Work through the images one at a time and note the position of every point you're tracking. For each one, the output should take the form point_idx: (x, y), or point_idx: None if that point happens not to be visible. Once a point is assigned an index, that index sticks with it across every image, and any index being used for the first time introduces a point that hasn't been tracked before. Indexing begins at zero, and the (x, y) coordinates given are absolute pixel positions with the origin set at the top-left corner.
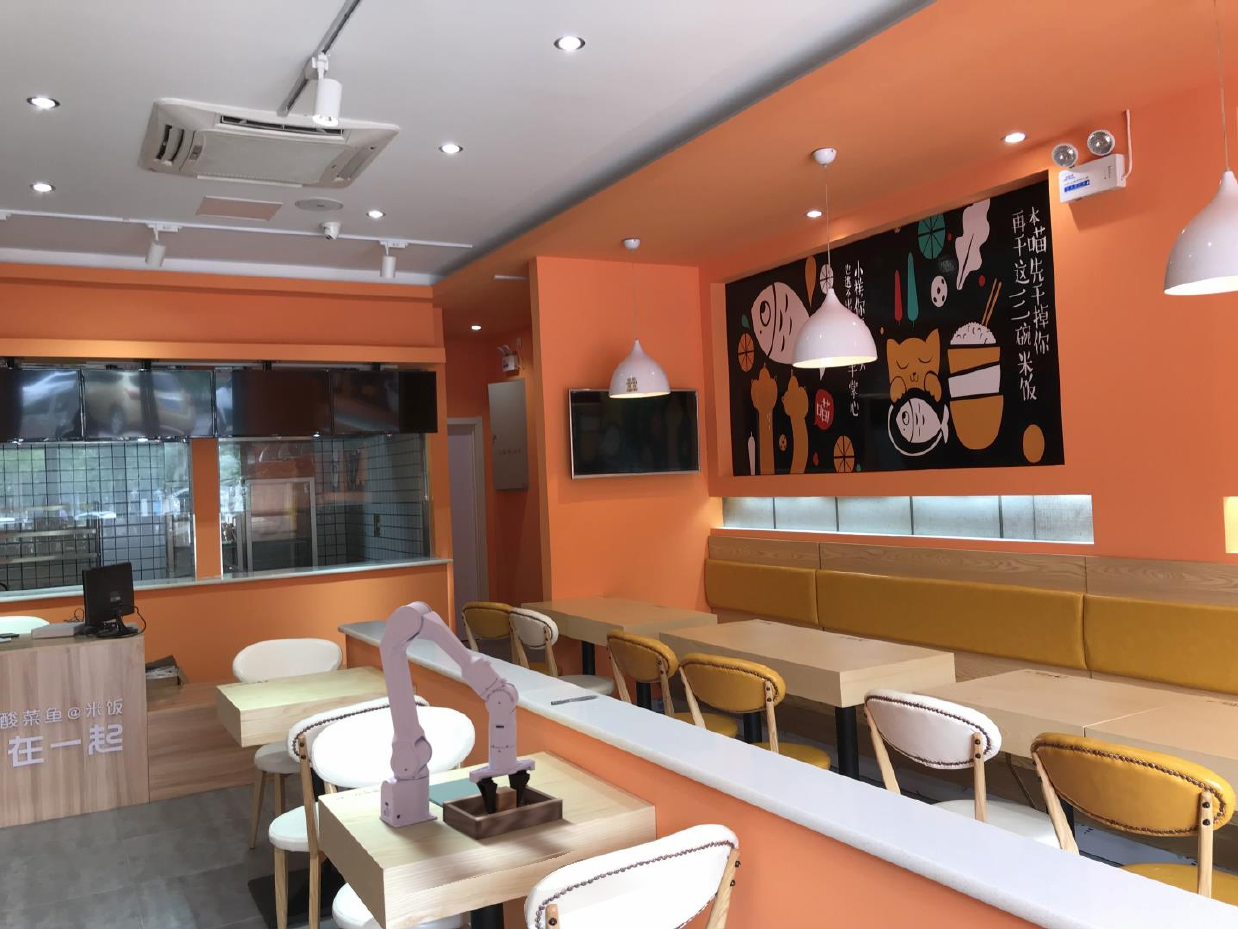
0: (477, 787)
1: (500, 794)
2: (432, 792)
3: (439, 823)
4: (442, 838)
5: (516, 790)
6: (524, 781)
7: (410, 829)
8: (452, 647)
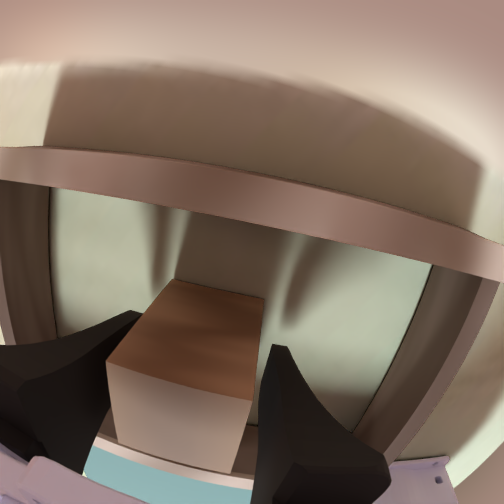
0: (123, 491)
1: (242, 397)
2: None
3: None
4: (479, 341)
5: (93, 374)
6: (21, 360)
7: (440, 441)
8: None
